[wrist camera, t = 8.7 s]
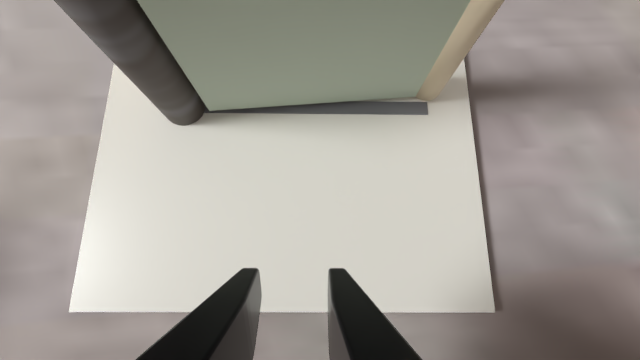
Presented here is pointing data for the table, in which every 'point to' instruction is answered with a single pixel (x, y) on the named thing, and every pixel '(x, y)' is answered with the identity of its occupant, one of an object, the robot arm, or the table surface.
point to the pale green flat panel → (317, 47)
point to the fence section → (138, 54)
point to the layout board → (286, 205)
